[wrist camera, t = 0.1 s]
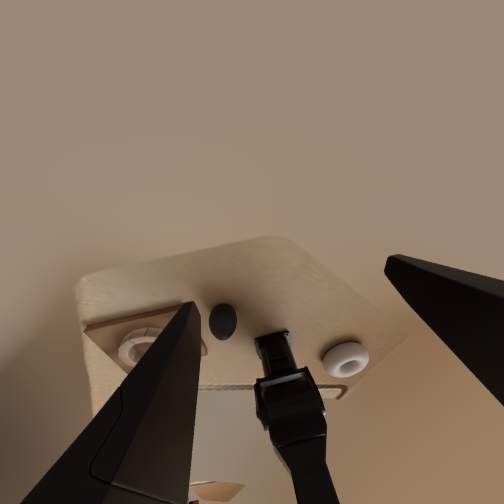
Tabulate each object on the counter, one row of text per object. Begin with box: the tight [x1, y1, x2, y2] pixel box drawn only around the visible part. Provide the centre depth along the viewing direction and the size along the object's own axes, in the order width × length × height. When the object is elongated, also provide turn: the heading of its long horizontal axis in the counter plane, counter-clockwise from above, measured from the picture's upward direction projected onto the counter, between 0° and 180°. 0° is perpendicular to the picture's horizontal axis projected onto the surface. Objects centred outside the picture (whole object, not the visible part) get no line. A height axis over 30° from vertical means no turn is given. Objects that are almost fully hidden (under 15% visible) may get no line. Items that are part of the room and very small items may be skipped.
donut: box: [323, 342, 369, 377], centre depth 40 cm, size 10×4×10 cm
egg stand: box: [84, 304, 207, 374], centre depth 29 cm, size 12×14×2 cm
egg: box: [209, 304, 237, 340], centre depth 27 cm, size 4×4×5 cm
